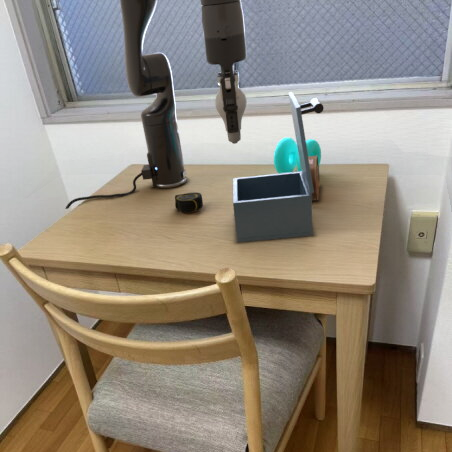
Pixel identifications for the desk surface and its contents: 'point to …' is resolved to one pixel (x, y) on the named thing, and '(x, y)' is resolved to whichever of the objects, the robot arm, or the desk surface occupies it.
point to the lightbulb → (241, 108)
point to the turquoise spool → (293, 154)
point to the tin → (314, 176)
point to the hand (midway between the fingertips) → (233, 127)
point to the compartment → (272, 207)
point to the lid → (300, 134)
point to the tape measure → (188, 202)
